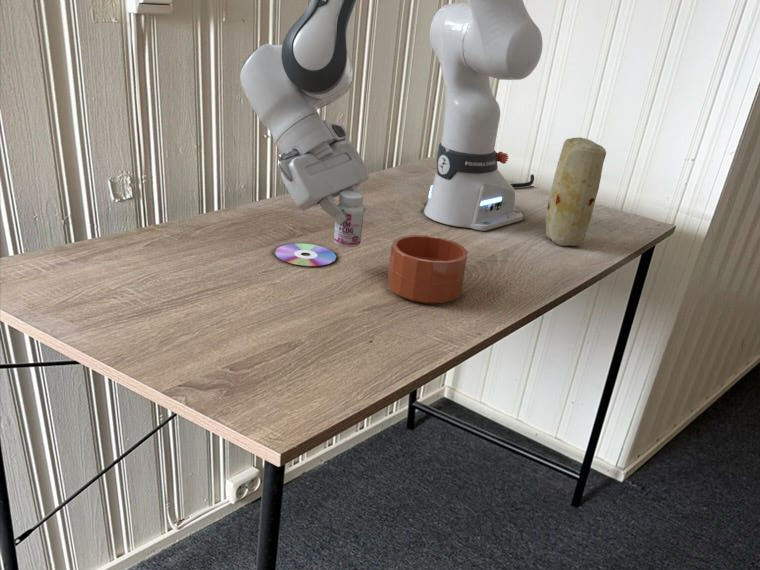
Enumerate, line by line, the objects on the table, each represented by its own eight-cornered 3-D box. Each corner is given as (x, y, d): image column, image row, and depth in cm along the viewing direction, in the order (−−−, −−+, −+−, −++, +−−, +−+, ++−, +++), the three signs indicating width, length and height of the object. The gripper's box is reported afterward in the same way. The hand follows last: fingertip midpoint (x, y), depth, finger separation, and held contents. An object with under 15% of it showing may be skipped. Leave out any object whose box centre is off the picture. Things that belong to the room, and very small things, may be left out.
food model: (589, 245, 173) (615, 144, 161) (574, 252, 168) (600, 148, 156) (548, 232, 177) (571, 132, 165) (533, 238, 173) (555, 136, 161)
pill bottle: (335, 247, 143) (339, 197, 138) (331, 237, 147) (335, 189, 142) (362, 248, 144) (367, 199, 139) (358, 238, 148) (362, 190, 143)
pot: (429, 272, 151) (435, 231, 146) (475, 299, 143) (483, 256, 138) (372, 282, 144) (377, 239, 139) (417, 311, 136) (423, 266, 132)
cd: (262, 251, 150) (262, 250, 150) (305, 239, 157) (306, 239, 157) (305, 271, 144) (305, 270, 144) (349, 258, 152) (349, 257, 152)
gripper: (285, 144, 130) (334, 222, 133) (348, 125, 145) (391, 195, 148) (261, 167, 134) (309, 242, 137) (325, 146, 149) (367, 214, 152)
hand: (352, 217), depth 143 cm, fingers closed on pill bottle, 5 cm apart
